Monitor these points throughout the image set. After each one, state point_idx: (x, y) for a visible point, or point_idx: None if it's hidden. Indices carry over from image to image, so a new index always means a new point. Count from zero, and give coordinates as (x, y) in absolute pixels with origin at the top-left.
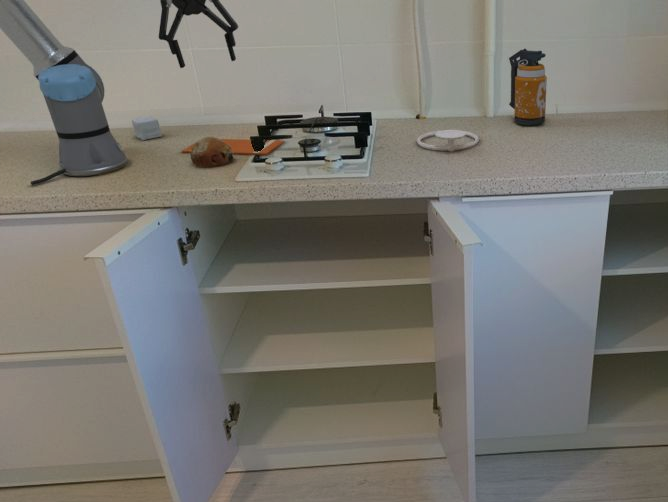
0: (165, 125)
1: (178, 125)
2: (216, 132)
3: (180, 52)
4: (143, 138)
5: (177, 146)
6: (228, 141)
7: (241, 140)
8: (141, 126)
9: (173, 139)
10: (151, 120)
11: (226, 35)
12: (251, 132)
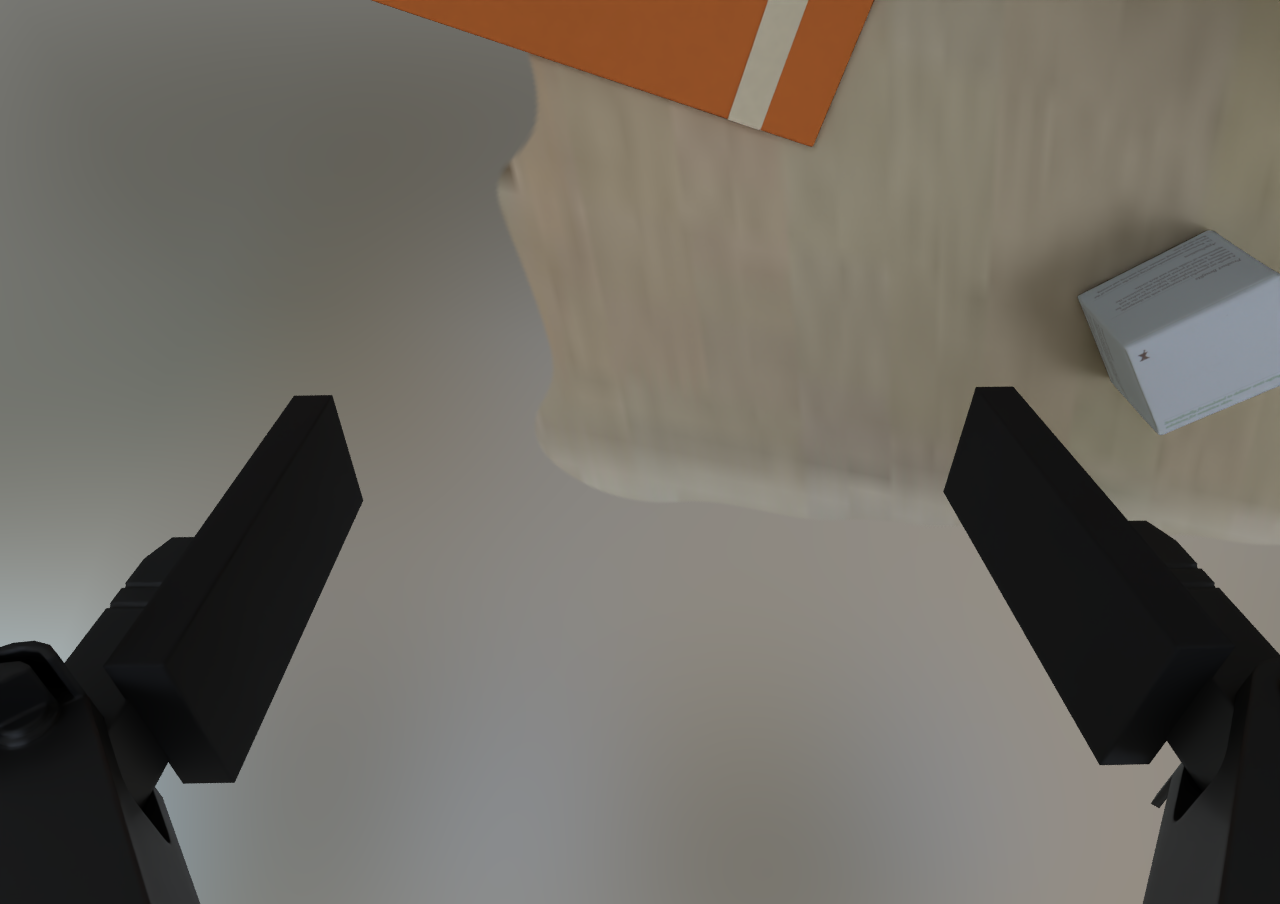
0: None
1: None
2: (745, 320)
3: (1021, 582)
4: (1210, 234)
5: (994, 11)
6: (623, 14)
7: (532, 24)
8: (1247, 271)
9: (1010, 217)
10: (1172, 329)
11: (128, 652)
12: (530, 272)
